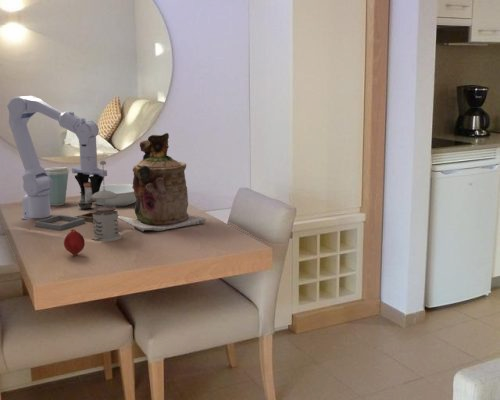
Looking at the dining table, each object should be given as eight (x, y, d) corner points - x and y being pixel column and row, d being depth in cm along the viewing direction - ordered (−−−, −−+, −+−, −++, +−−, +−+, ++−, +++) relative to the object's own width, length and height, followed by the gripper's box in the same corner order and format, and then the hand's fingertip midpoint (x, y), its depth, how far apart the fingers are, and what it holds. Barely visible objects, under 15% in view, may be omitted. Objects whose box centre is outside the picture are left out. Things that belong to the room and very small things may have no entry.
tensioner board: (67, 221, 218) (67, 210, 218) (93, 213, 230) (92, 203, 229) (95, 225, 212) (94, 214, 211) (120, 217, 224) (119, 207, 223)
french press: (94, 242, 191) (90, 163, 186) (86, 234, 201) (82, 158, 196) (125, 239, 195) (122, 161, 190) (115, 230, 205) (112, 157, 200)
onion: (67, 252, 181) (65, 226, 179) (86, 251, 181) (85, 225, 180) (62, 258, 175) (61, 231, 173) (83, 257, 175) (81, 230, 174)
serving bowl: (117, 197, 259) (117, 181, 258) (153, 203, 247) (152, 187, 246) (78, 206, 243) (77, 189, 241) (114, 213, 231) (113, 195, 230)
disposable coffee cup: (37, 204, 245) (35, 167, 242) (59, 200, 254) (57, 164, 251) (54, 208, 239) (52, 170, 236) (76, 203, 248) (74, 166, 245)
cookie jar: (175, 211, 234) (173, 127, 228) (209, 224, 214) (207, 133, 208) (115, 220, 220) (110, 131, 214) (144, 234, 201) (141, 137, 194)
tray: (35, 228, 208) (34, 221, 207) (60, 221, 218) (60, 214, 217) (60, 233, 202) (59, 225, 202) (85, 225, 212) (84, 218, 212)
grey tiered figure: (89, 213, 231) (87, 181, 229) (75, 212, 232) (73, 181, 230) (96, 209, 237) (94, 179, 234) (82, 209, 238) (80, 178, 235)
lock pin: (81, 202, 215) (80, 183, 214) (91, 200, 219) (89, 181, 218) (91, 203, 213) (90, 183, 212) (100, 201, 217) (99, 181, 216)
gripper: (112, 156, 213) (113, 194, 216) (81, 154, 220) (83, 191, 223) (98, 159, 207) (100, 198, 210) (66, 156, 214) (68, 194, 217)
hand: (90, 194), depth 216 cm, fingers closed on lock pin, 4 cm apart
